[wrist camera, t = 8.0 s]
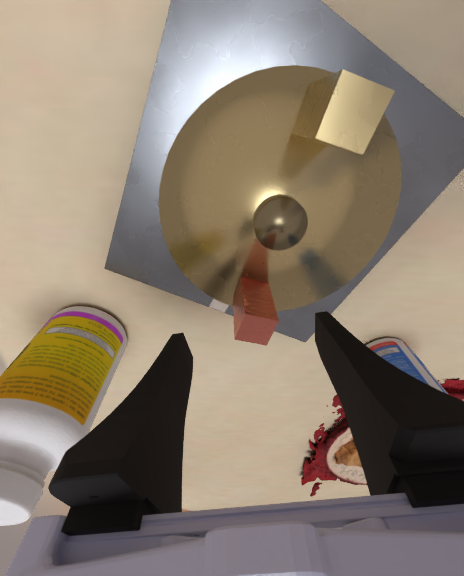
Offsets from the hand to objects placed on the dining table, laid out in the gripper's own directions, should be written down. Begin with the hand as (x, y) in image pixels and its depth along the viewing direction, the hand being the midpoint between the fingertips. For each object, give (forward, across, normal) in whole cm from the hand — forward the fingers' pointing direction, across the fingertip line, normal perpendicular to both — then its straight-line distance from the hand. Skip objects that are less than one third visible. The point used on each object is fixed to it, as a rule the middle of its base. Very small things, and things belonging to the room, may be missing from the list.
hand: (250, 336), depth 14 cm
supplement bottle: (+8, +15, +4) cm, 17 cm away
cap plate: (+7, -3, -4) cm, 9 cm away
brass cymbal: (+6, -3, -4) cm, 8 cm away
